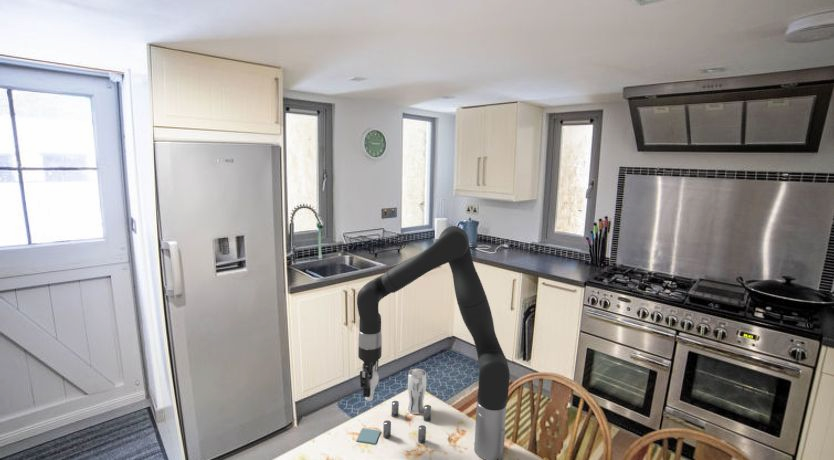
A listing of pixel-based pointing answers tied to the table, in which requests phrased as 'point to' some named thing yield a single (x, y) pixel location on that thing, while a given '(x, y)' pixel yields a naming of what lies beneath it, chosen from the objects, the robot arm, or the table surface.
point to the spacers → (421, 428)
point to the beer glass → (416, 390)
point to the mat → (368, 436)
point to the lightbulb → (373, 385)
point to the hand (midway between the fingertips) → (369, 391)
